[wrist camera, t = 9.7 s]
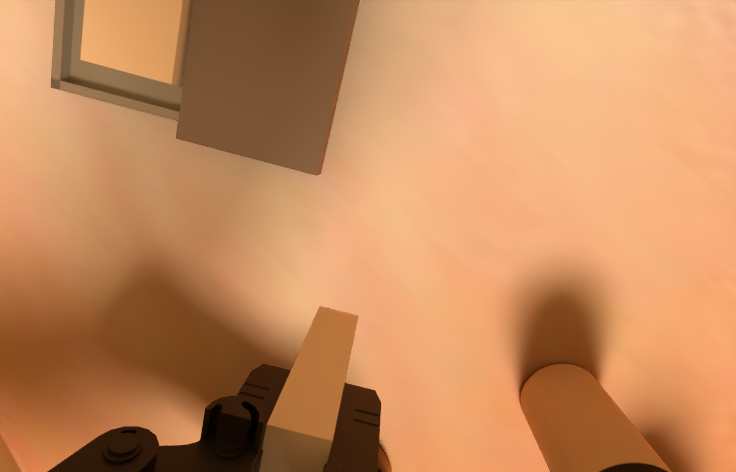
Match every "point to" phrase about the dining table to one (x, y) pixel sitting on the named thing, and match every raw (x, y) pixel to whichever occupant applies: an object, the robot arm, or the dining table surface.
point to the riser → (265, 77)
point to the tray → (103, 71)
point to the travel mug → (583, 425)
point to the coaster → (138, 37)
